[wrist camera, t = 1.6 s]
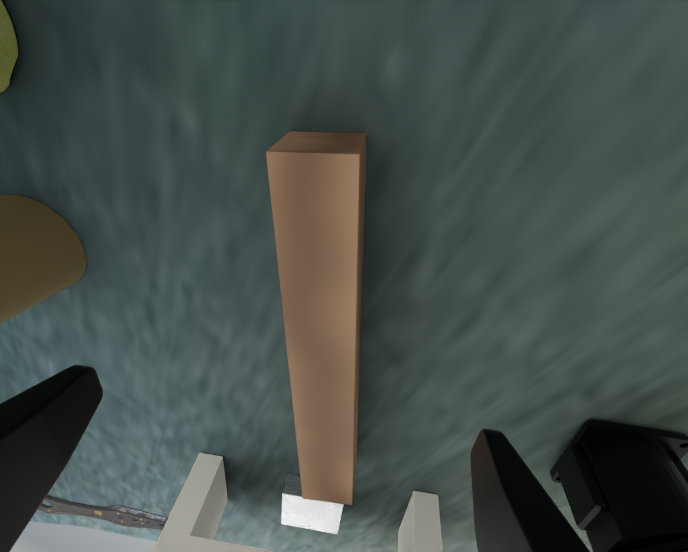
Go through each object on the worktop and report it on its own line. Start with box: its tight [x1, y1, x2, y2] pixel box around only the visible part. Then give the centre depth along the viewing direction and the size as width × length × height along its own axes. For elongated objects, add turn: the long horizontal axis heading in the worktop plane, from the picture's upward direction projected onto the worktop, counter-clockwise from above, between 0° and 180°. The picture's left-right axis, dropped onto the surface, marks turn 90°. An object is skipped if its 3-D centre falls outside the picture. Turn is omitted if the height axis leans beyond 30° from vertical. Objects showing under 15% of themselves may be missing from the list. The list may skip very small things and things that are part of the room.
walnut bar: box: [266, 131, 367, 505], centre depth 22 cm, size 4×24×4 cm, turn 0°
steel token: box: [281, 474, 344, 534], centre depth 33 cm, size 5×5×2 cm
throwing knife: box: [38, 495, 168, 530], centre depth 40 cm, size 4×20×1 cm, turn 85°
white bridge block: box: [152, 453, 443, 552], centre depth 30 cm, size 20×7×8 cm, turn 84°
